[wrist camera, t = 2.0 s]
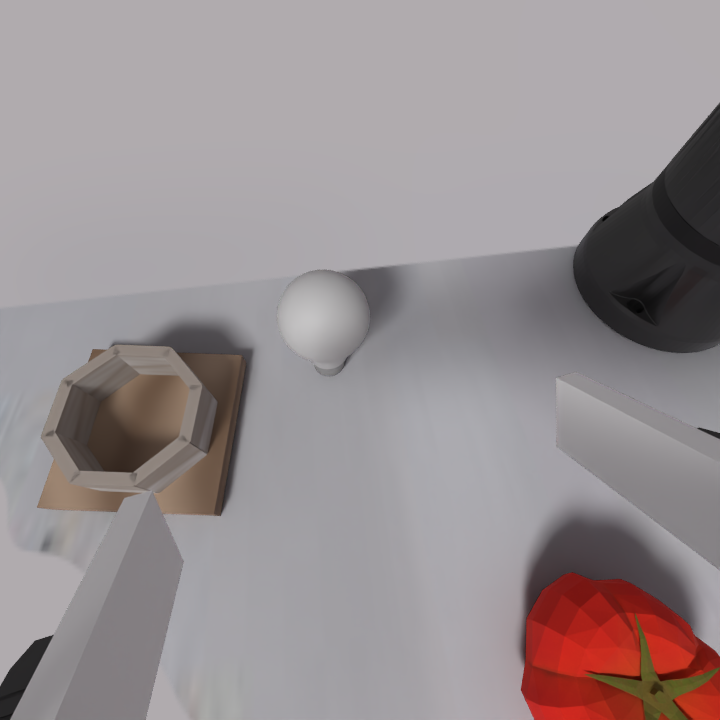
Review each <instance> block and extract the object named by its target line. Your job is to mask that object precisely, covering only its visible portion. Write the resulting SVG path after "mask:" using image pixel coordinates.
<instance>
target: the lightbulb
mask: <svg viewBox="0 0 720 720" xmlns="http://www.w3.org/2000/svg"><path fill="white" fill-rule="evenodd" d="M277 324H278V329H279V332H280V334H281V336H282V339H283V340H284V342H285V343H286V344H287V346H288V347H289V348H290V349H291V350H292V351H293V352H294V353H296V354H297V355H298V356H300V357H302V358H304V359H306V360H309V361H311V362H312V363H313V364H314V366H315V368H316V370H317V371H318V372H319V373H320V374H322V375H324V376H333V375H336V374H338V373H339V372H340V371H341V370H342V369H343V367H344V363H345V359H346V358H347V356H349V355H351V354H352V353H353V352H354V351H355V350H357V349H358V348H359V346H360V345H361V343H362V342H363V340H364V339H365V337H366V335H367V332H368V330H369V324H370V309H369V306H368V302H367V299H366V297H365V295H364V293H363V291H362V290H361V288H360V287H359V286H358V285H357V284H356V283H355V282H354V281H353V280H352V279H350V278H349V277H347V276H345V275H343V274H341V273H339V272H335V271H331V270H315V271H311V272H307V273H305V274H303V275H301V276H299V277H297V278H296V279H295V280H294V281H292V282H291V283H290V284H289V285H288V286H287V287H286V289H285V290H284V292H283V294H282V296H281V298H280V300H279V304H278V307H277Z"/></svg>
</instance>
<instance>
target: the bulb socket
mask: <svg viewBox="0 0 720 720" xmlns="http://www.w3.org/2000/svg"><path fill="white" fill-rule="evenodd" d="M245 368H246V361H245V360H244V358H243V356H242V355H227V354H201V353H176V352H175V351H174V350H173V348H172V347H165V346H139V345H114V346H112V347H111V348H109V349H108V350H98V349H93V350H92V353H91V356H90V359H89V361H88V363H86V364H85V365H83V366H82V367H80V368H79V369H77V370H76V371H74V372H73V373H71V374H70V375H68V376H67V377H65V378H64V379H63V380H62V381H61V384H60V386H59V389H58V392H57V394H56V397H55V400H54V402H53V405H52V408H51V410H50V413H49V416H48V418H47V421H46V424H45V426H44V429H43V432H42V434H41V438H42V440H43V442H44V443H45V445H46V446H47V448H48V450H49V451H50V453H51V455H52V456H53V458H54V461H53V463H52V466H51V469H50V472H49V475H48V478H47V481H46V483H45V486H44V489H43V492H42V495H41V498H40V500H39V503H38V506H37V508H45V509H55V510H81V511H107V512H117V511H118V509H119V507H120V506H121V504H122V502H123V500H124V498H126V497H130V496H133V495H137V494H141V493H144V492H148V491H151V490H152V491H153V493H154V496H155V498H156V500H157V502H158V505H159V507H160V509H161V511H162V514H187V515H213V516H221V510H222V504H223V498H224V492H225V486H226V480H227V474H228V468H229V462H230V457H231V451H232V445H233V439H234V433H235V427H236V421H237V415H238V409H239V403H240V397H241V391H242V386H243V380H244V374H245Z"/></svg>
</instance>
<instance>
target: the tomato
mask: <svg viewBox="0 0 720 720" xmlns="http://www.w3.org/2000/svg"><path fill="white" fill-rule="evenodd" d="M521 691H522V694H523V696H524V698H525V700H526V702H527V704H528V707H529V709H530V711H531V713H532V715H533V717H534V720H720V656H719V655H718V654H717V653H716V651H715V650H713V649H712V648H711V647H709V646H708V645H707V644H705V643H704V642H703V641H701V640H700V639H699V638H697V637H696V636H695V635H694V634H693V631H692V629H691V627H690V625H689V624H688V623H687V622H686V621H684V620H683V619H682V618H681V617H680V616H679V615H677V614H676V613H675V612H673V611H672V610H671V609H670V608H668V607H667V606H666V605H665V604H663V603H662V602H661V601H659V600H658V599H656V598H654V597H653V596H651V595H650V594H648V593H646V592H645V591H643V590H641V589H640V588H638V587H636V586H635V585H633V584H631V583H629V582H627V581H624V580H622V579H612V580H591V579H589V578H586V577H583V576H581V575H578V574H575V573H573V572H572V573H568V574H564V575H562V576H561V577H560V578H558V579H557V580H556V581H554V582H553V583H551V584H550V585H549V586H547V587H546V588H545V589H543V590H542V592H541V594H540V595H539V597H538V599H537V601H536V602H535V604H534V606H533V608H532V610H531V611H530V613H529V615H528V617H527V621H526V661H525V667H524V674H523V680H522V686H521Z"/></svg>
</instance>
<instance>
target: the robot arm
mask: <svg viewBox="0 0 720 720" xmlns="http://www.w3.org/2000/svg"><path fill="white" fill-rule="evenodd" d="M574 275H575V279H576V283H577V286H578V288H579V290H580V292H581V294H582V296H583V298H584V299H585V301H586V303H587V304H588V305H589V307H590V308H591V309H592V310H593V311H594V313H595V314H596V315H597V316H598V317H599V318H600V319H601V320H602V321H604V322H605V323H606V324H607V325H608V326H610V327H611V328H612V329H614V330H615V331H617V332H618V333H620V334H621V335H623V336H625V337H626V338H628V339H630V340H632V341H634V342H637V343H639V344H642V345H644V346H647V347H650V348H653V349H657V350H662V351H667V352H676V353H690V352H698V351H703V350H706V349H709V348H712V347H714V346H716V345H718V344H720V103H719V104H718V105H717V107H716V108H715V109H714V110H713V111H712V113H711V114H710V115H709V116H708V118H707V119H706V120H705V121H704V122H703V123H702V124H701V126H700V127H699V128H698V129H697V130H696V132H695V133H694V134H693V135H692V136H691V138H690V139H689V140H688V141H687V142H686V143H685V145H684V146H683V147H682V148H681V149H680V151H679V152H678V153H677V154H676V155H675V157H674V158H673V159H672V161H671V162H670V163H669V164H668V165H667V167H666V168H665V169H664V170H663V171H662V172H661V174H660V175H659V176H658V177H657V179H656V180H655V181H654V182H652V183H651V184H650V185H648V186H647V187H645V188H644V189H642V190H641V191H639V192H638V193H636V194H635V195H634V196H632V197H631V198H629V199H628V200H627V201H626V202H624V203H623V204H622V205H621V206H620V207H618V208H615V209H613V210H612V211H610V212H608V213H607V214H605V215H604V216H603V217H601V218H600V219H599V220H598V221H597V222H596V223H595V224H594V225H593V226H592V227H591V229H590V230H589V232H588V233H587V234H586V236H585V237H584V238H583V239H582V241H581V242H580V244H579V246H578V248H577V250H576V253H575V257H574ZM556 426H557V447H558V448H559V449H560V450H562V451H563V452H564V453H566V454H567V455H568V456H569V457H571V458H572V459H573V460H575V461H576V462H577V463H579V464H580V465H581V466H583V467H584V468H585V469H587V470H588V471H589V472H591V473H592V474H593V475H595V476H596V477H597V478H599V479H600V480H601V481H603V482H604V483H605V484H606V485H608V486H609V487H610V488H612V489H613V490H614V491H616V492H617V493H618V494H620V495H621V496H622V497H624V498H625V499H626V500H628V501H629V502H630V503H632V504H633V505H634V506H636V507H637V508H638V509H640V510H641V511H642V512H643V513H645V514H646V515H647V516H649V517H650V518H651V519H653V520H654V521H655V522H657V523H658V524H659V525H661V526H662V527H663V528H665V529H666V530H667V531H669V532H670V533H671V534H673V535H674V536H675V537H677V538H678V539H679V540H680V541H682V542H683V543H684V544H686V545H687V546H688V547H690V548H691V549H692V550H694V551H695V552H696V553H698V554H699V555H700V556H702V557H703V558H704V559H706V560H707V561H708V562H710V563H711V564H712V565H714V566H715V567H716V568H717V569H719V570H720V433H717V432H714V431H710V430H706V429H702V428H695V427H692V426H690V425H688V424H686V423H684V422H682V421H680V420H677V419H675V418H673V417H671V416H669V415H667V414H665V413H663V412H660V411H658V410H656V409H654V408H652V407H650V406H648V405H645V404H643V403H641V402H639V401H637V400H635V399H633V398H631V397H628V396H626V395H624V394H622V393H620V392H618V391H616V390H614V389H611V388H609V387H607V386H605V385H603V384H601V383H599V382H596V381H594V380H592V379H590V378H588V377H586V376H584V375H582V374H579V373H577V372H574V373H570V374H567V375H563V376H560V377H556ZM183 562H184V561H183V559H182V557H181V554H180V552H179V550H178V548H177V545H176V543H175V541H174V539H173V536H172V534H171V532H170V530H169V527H168V525H167V523H166V521H165V518H164V516H163V514H162V511H161V509H160V507H159V505H158V502H157V500H156V498H155V496H154V493H153V491H152V490H151V491H148V492H144V493H141V494H137V495H133V496H130V497H126V498H124V500H123V502H122V504H121V506H120V507H119V509H118V511H117V513H116V515H115V517H114V519H113V521H112V523H111V525H110V527H109V529H108V531H107V533H106V535H105V537H104V539H103V540H102V542H101V544H100V546H99V548H98V550H97V552H96V554H95V556H94V558H93V560H92V562H91V564H90V566H89V568H88V570H87V572H86V573H85V575H84V577H83V579H82V581H81V583H80V585H79V587H78V589H77V591H76V593H75V595H74V597H73V599H72V601H71V603H70V604H69V607H68V608H67V610H66V612H65V614H64V616H63V618H62V620H61V622H60V624H59V626H58V628H57V630H56V632H55V634H54V635H52V636H49V637H45V638H42V639H39V640H36V641H34V643H33V644H32V645H31V646H30V647H29V648H28V649H27V651H26V652H25V653H24V654H23V655H22V656H21V657H20V658H19V660H18V661H17V662H16V663H15V664H14V665H13V666H12V668H11V669H10V670H9V672H8V674H7V675H6V677H5V679H4V681H3V682H2V684H1V686H0V720H146V716H147V712H148V707H149V703H150V699H151V695H152V691H153V687H154V683H155V678H156V674H157V670H158V666H159V662H160V658H161V654H162V649H163V645H164V641H165V637H166V633H167V629H168V625H169V620H170V616H171V612H172V608H173V604H174V600H175V596H176V591H177V587H178V583H179V579H180V575H181V571H182V567H183Z"/></svg>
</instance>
